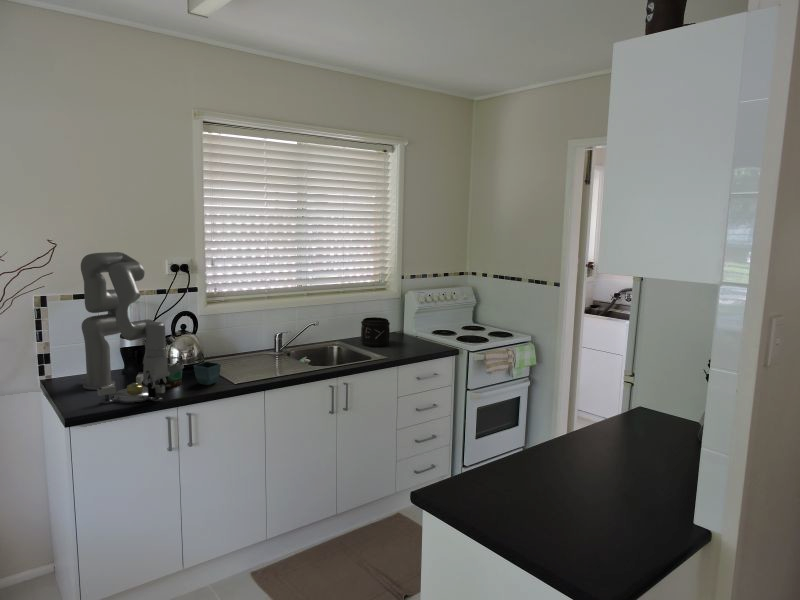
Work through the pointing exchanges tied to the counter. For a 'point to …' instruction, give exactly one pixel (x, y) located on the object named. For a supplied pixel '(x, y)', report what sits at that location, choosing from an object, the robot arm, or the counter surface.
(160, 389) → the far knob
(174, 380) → the food container
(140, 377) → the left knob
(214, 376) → the flower pot
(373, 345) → the black canister
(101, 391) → the near knob
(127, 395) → the levelling plate
